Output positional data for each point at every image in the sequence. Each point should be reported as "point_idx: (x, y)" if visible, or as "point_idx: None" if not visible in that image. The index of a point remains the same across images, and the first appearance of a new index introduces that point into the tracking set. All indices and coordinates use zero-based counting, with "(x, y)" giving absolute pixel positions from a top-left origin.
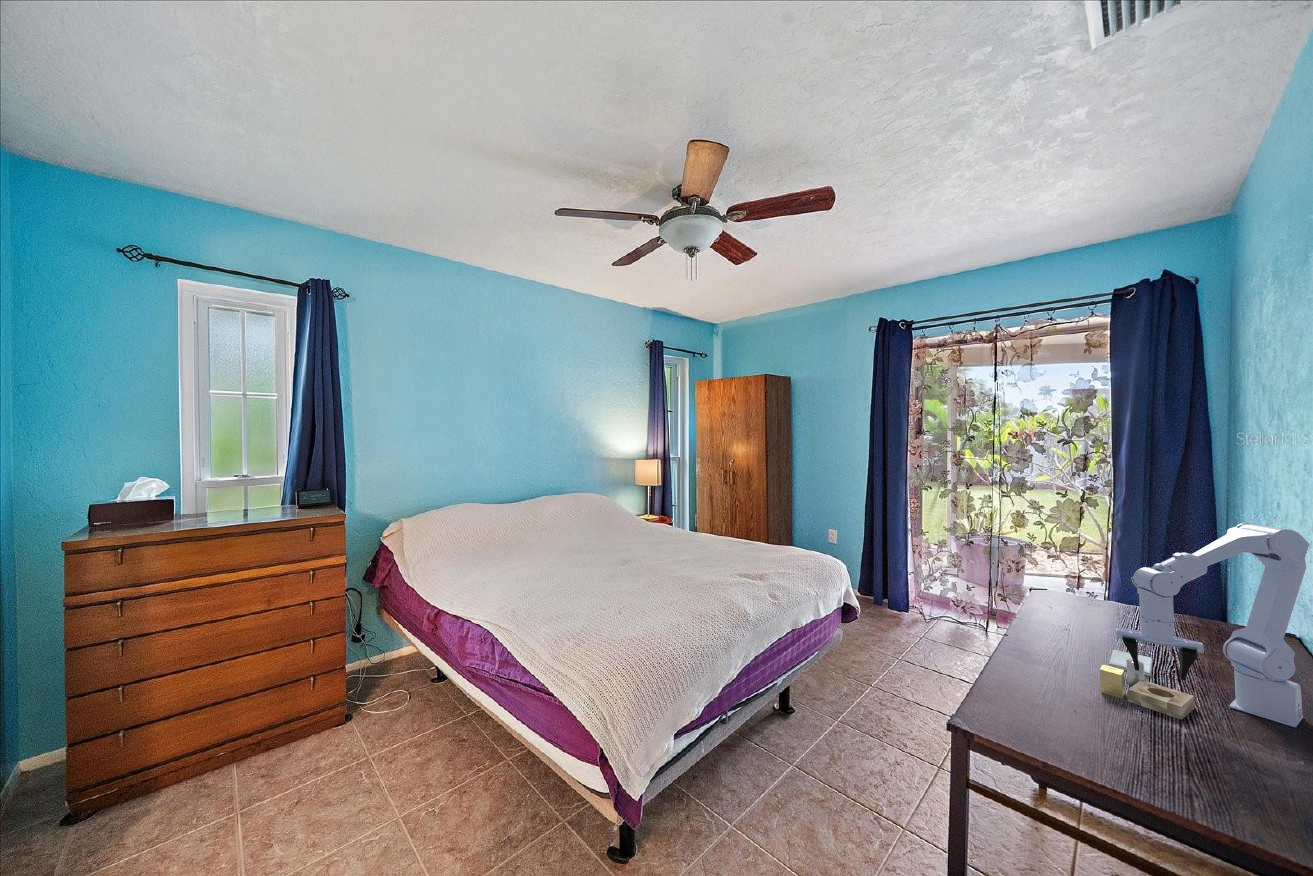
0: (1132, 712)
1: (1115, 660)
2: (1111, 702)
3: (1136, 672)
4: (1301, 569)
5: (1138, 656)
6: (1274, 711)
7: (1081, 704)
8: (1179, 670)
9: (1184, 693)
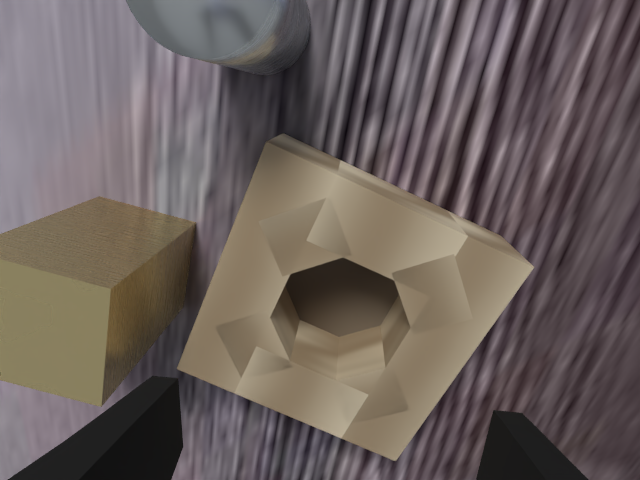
0: (213, 427)
1: None
2: (140, 372)
3: (231, 65)
4: None
5: None
6: None
7: (44, 449)
8: (522, 460)
9: (486, 258)
